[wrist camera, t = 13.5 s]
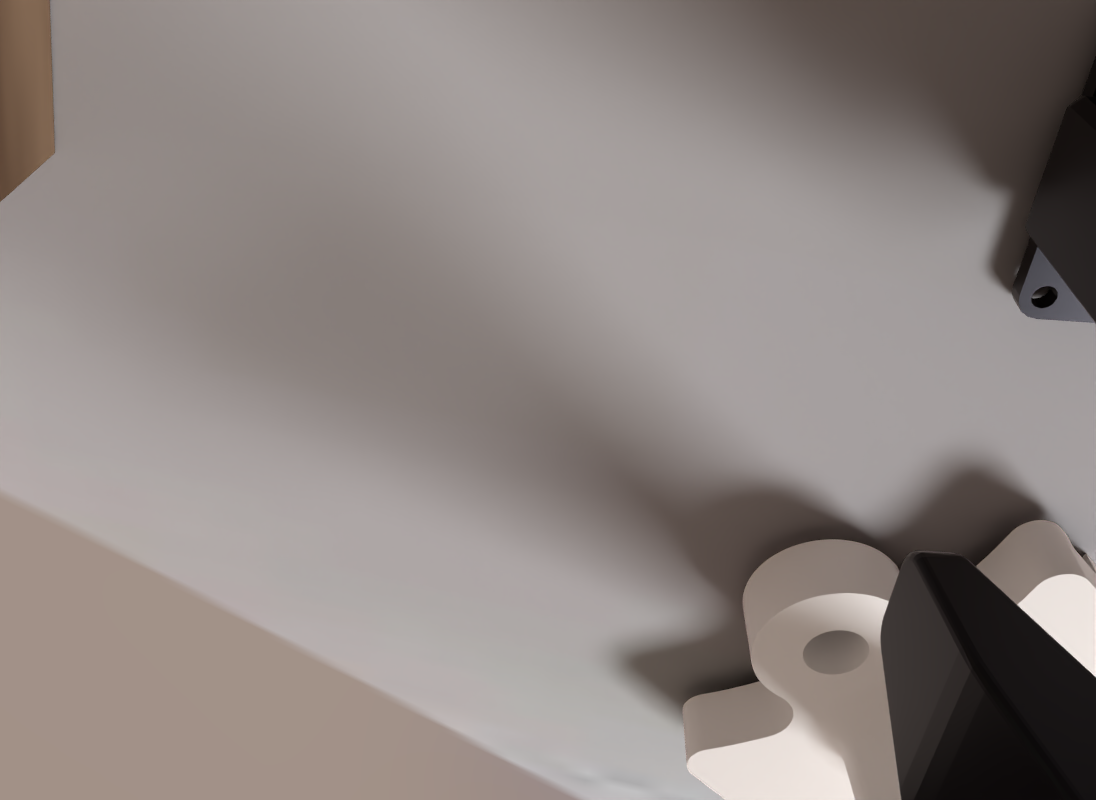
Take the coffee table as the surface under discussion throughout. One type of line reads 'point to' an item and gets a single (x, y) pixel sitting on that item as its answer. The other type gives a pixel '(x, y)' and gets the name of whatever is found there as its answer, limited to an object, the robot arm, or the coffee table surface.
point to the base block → (24, 90)
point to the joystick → (852, 665)
